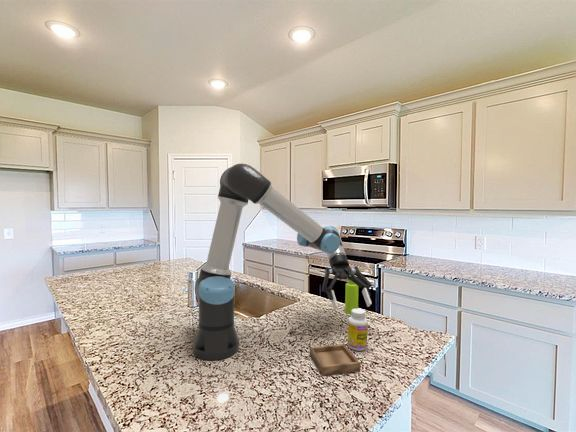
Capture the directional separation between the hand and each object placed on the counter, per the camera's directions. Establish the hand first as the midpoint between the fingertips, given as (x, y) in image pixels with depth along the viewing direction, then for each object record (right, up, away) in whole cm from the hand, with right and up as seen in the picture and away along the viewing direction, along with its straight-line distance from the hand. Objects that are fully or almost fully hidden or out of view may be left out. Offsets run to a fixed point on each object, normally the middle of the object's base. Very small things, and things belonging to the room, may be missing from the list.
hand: (353, 306), depth 110 cm
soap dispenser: (+6, -11, +27) cm, 30 cm away
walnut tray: (-10, -13, -17) cm, 23 cm away
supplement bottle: (0, -12, -6) cm, 14 cm away
